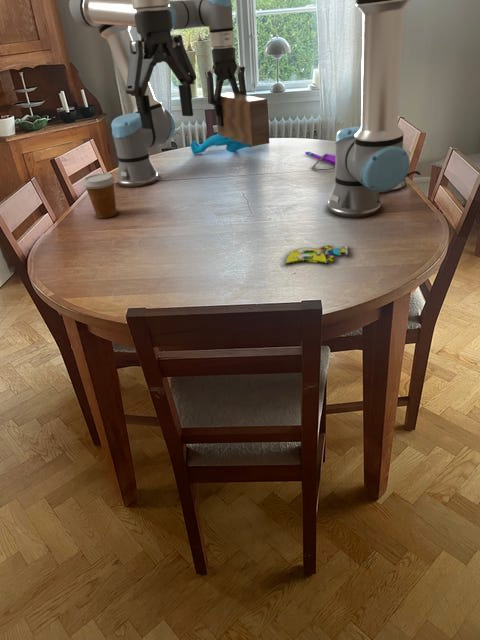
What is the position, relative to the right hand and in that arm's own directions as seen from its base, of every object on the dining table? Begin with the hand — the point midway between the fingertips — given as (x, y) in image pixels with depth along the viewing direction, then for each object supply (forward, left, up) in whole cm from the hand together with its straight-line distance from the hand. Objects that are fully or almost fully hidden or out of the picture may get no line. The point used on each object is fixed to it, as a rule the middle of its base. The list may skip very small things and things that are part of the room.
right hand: (168, 121), depth 108 cm
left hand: (-31, -53, -13) cm, 63 cm away
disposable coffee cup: (+16, -41, -32) cm, 55 cm away
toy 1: (-41, -94, -32) cm, 107 cm away
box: (-33, -44, -16) cm, 57 cm away
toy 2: (-28, +18, -32) cm, 47 cm away
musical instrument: (-68, -53, -32) cm, 92 cm away
